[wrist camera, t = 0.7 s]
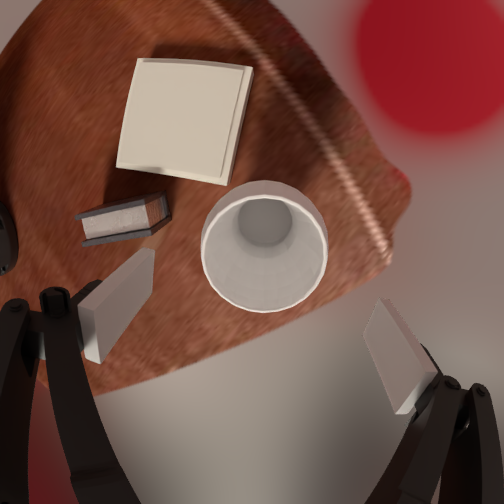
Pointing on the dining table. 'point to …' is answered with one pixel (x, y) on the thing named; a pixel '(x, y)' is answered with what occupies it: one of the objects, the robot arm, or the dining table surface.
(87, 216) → the napkin holder
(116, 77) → the dining table surface
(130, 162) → the pedestal
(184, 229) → the dining table surface
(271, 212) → the cup
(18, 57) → the dining table surface
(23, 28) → the dining table surface
